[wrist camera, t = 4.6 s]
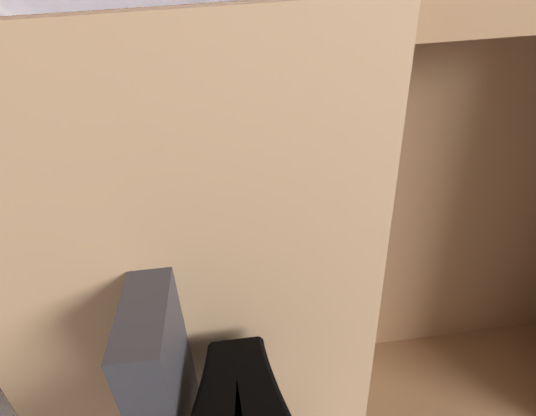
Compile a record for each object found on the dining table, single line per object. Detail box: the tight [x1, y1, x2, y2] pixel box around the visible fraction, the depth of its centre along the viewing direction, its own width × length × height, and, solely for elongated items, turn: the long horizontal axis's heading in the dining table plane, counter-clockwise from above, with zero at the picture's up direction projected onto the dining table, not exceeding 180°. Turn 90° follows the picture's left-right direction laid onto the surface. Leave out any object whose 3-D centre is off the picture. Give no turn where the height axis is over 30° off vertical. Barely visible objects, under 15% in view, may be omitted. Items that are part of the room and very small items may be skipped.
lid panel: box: [0, 0, 421, 416], centre depth 10 cm, size 16×10×3 cm, turn 3°
